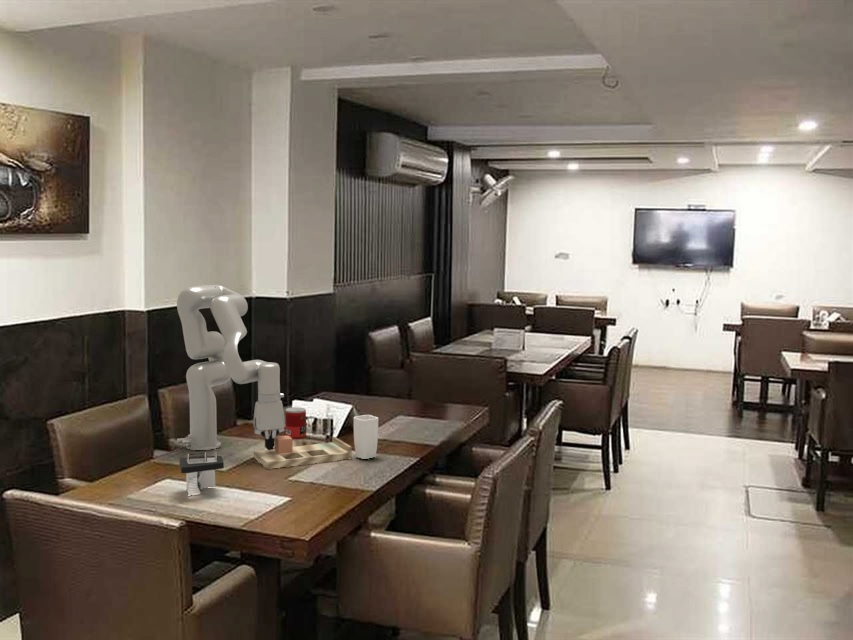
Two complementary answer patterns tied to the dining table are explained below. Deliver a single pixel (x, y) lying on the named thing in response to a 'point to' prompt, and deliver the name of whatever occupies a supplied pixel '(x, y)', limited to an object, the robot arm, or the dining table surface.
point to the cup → (365, 436)
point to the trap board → (305, 454)
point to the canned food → (295, 422)
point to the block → (283, 444)
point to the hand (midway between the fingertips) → (269, 448)
